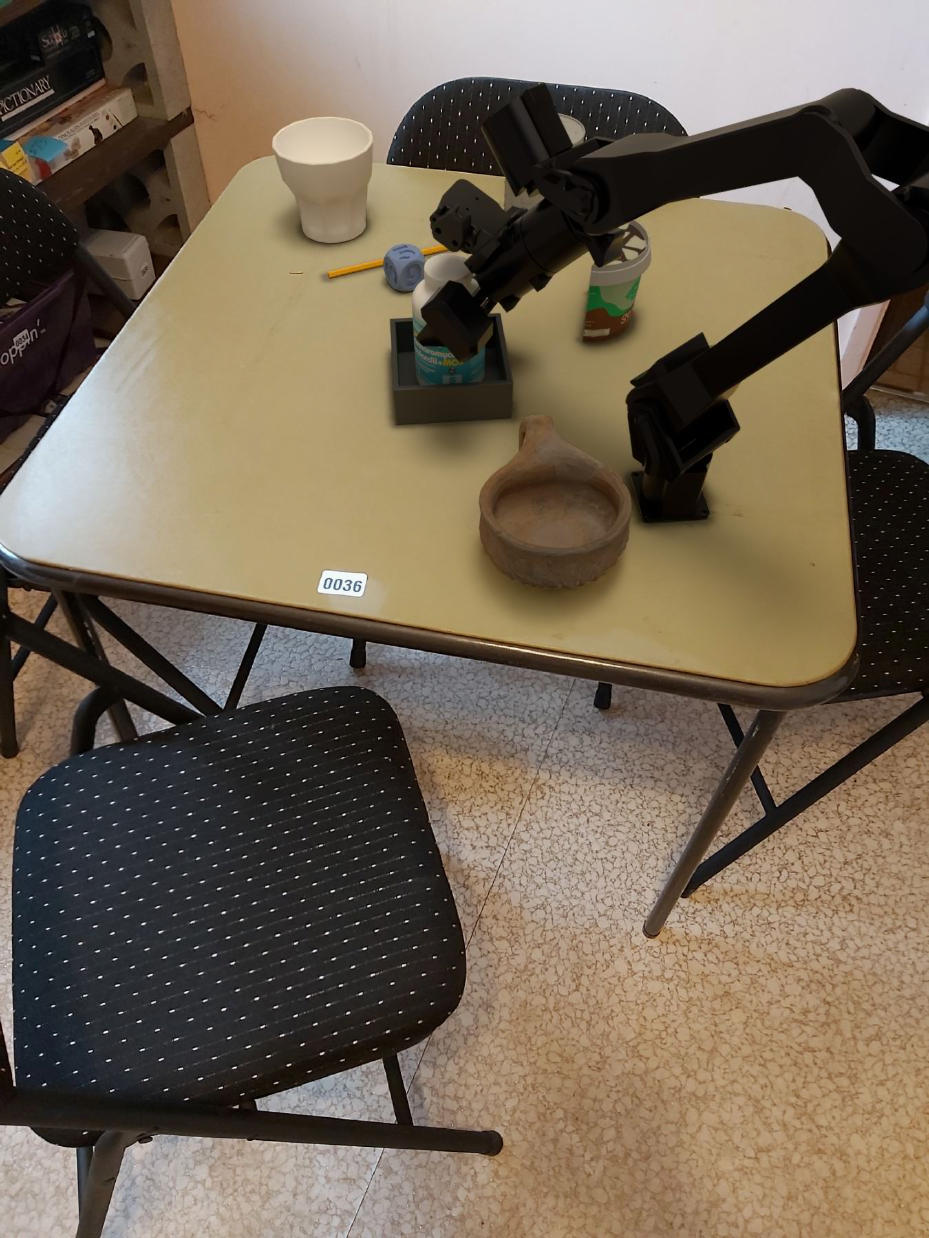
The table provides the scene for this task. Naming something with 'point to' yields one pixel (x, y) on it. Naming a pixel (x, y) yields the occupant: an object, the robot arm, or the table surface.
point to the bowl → (553, 512)
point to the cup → (327, 174)
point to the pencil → (378, 263)
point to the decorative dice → (404, 267)
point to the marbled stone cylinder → (523, 201)
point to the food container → (617, 286)
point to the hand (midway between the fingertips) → (436, 320)
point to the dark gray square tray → (455, 397)
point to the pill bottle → (429, 360)
